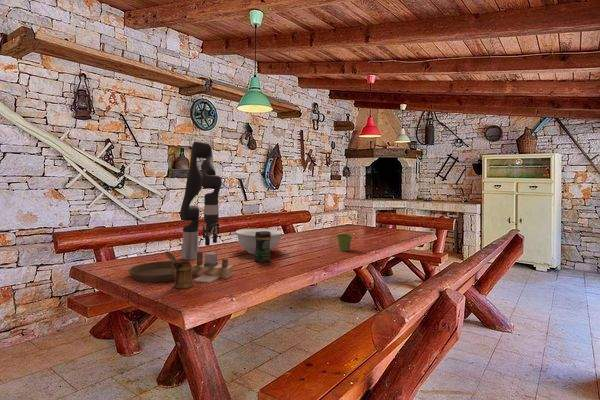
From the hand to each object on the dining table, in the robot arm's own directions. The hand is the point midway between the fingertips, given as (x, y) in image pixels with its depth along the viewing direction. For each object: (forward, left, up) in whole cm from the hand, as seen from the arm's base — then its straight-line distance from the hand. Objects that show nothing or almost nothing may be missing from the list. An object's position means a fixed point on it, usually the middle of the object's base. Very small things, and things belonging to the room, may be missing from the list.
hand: (211, 244), depth 196 cm
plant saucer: (-24, -8, -17) cm, 31 cm away
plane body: (+1, 0, -16) cm, 16 cm away
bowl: (+4, +64, -17) cm, 66 cm away
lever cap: (0, 0, -10) cm, 10 cm away
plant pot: (+60, +90, -17) cm, 109 cm away
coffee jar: (+15, +40, -17) cm, 46 cm away
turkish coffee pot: (-4, -24, -17) cm, 29 cm away
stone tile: (+2, -9, -16) cm, 19 cm away
